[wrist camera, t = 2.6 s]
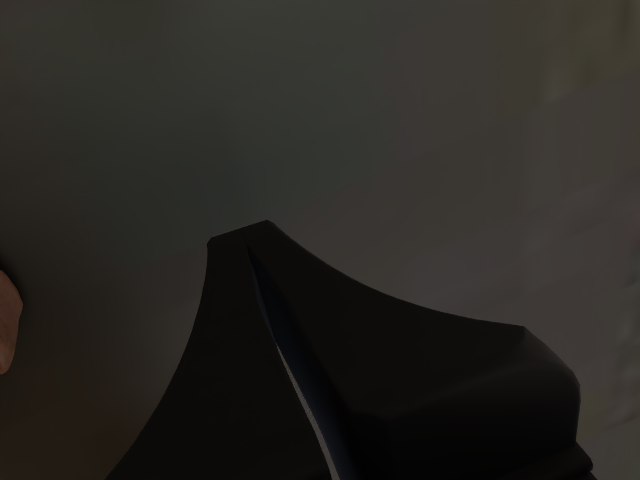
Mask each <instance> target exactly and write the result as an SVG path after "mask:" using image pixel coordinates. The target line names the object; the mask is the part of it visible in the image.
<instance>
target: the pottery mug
mask: <svg viewBox="0 0 640 480" xmlns="http://www.w3.org/2000/svg"><path fill="white" fill-rule="evenodd" d="M22 308H23V302H22V300H21V298H20V295H19V292H18V290H17V288H16V287H15V286H14V285H13V283H12V282H11V281H10V279H9V278H8V276H7V275H6V274H5V273H4V272H3V271H1V270H0V374H3V373H5V372H6V371H7V370H8V369H9V367H10V364H11V362H12V359H13V356H14V352H15V346H16V339H17V334H18V322H19V318H20V314H21V312H22Z"/></svg>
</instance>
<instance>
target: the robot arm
mask: <svg viewBox="0 0 640 480" xmlns="http://www.w3.org/2000/svg"><path fill="white" fill-rule="evenodd" d="M207 248H208V257H207V268H206V276H205V281H204V286H203V291H202V296H201V301H200V305H199V308H198V312H197V315H196V318H195V322H194V325H193V329H192V332H191V335H190V337H189V340H188V343H187V346H186V348H185V351H184V353H183V355H182V358H181V360H180V363H179V365H178V367H177V369H176V371H175V373H174V375H173V377H172V379H171V381H170V383H169V385H168V387H167V389H166V391H165V393H164V395H163V397H162V399H161V400H160V402H159V404H158V406H157V407H156V409H155V411H154V412H153V414H152V415H151V417H150V418H149V420H148V421H147V423H146V425H145V426H144V428H143V429H142V431H141V432H140V434H139V436H138V437H137V439H136V440H135V442H134V443H133V445H132V446H131V447H130V449H129V450H128V451H127V452H126V454H125V455H124V456H123V457H122V459H121V460H120V461H119V462H118V464H117V465H116V466H115V467H114V469H113V470H112V471H111V473H110V474H109V475H108V476H107V478H106V479H105V480H332V478H331V474H330V470H329V467H328V465H327V462H326V459H325V457H324V454H323V452H322V449H321V447H320V444H319V441H318V439H317V436H316V434H315V431H314V429H313V427H312V425H311V423H310V421H309V419H308V417H307V415H306V413H305V410H304V408H303V406H302V404H301V402H300V400H299V397H298V395H297V393H296V391H295V389H294V387H293V384H292V382H291V380H290V377H289V375H288V373H287V371H286V368H285V366H284V364H283V361H282V359H281V357H280V354H279V352H278V349H277V345H278V347H279V349H280V351H281V353H282V355H283V357H284V359H285V361H286V363H287V365H288V367H289V369H290V370H291V372H292V374H293V376H294V378H295V380H296V382H297V384H298V386H299V388H300V390H301V392H302V394H303V396H304V398H305V400H306V402H307V404H308V406H309V408H310V410H311V412H312V414H313V416H314V418H315V419H316V422H317V424H318V426H319V428H320V430H321V433H322V435H323V437H324V440H325V442H326V445H327V447H328V450H329V452H330V455H331V458H332V460H333V463H334V465H335V468H336V471H337V473H338V476H339V478H340V480H597V479H596V478H595V477H594V476H593V474H592V473H591V472H590V471H591V470H592V468H593V463H592V461H591V459H590V457H589V456H588V455H587V454H586V453H585V452H584V450H583V449H582V448H581V447H580V446H579V444H578V443H577V442H576V434H577V426H578V418H579V410H580V402H581V394H580V384H579V382H578V380H577V378H576V376H575V374H574V372H573V371H572V370H571V369H570V368H569V367H568V366H567V365H566V364H565V363H564V362H563V361H562V360H561V359H560V358H559V357H558V356H557V355H556V354H555V353H554V352H553V351H552V350H551V349H550V348H549V347H548V346H547V345H546V344H544V343H543V342H542V341H541V340H539V339H538V338H537V337H536V336H534V335H533V334H532V333H531V332H530V331H529V330H528V329H526V328H525V327H524V326H518V325H511V324H504V323H497V322H490V321H483V320H477V319H471V318H466V317H462V316H457V315H453V314H448V313H444V312H440V311H436V310H432V309H429V308H425V307H422V306H419V305H416V304H413V303H409V302H406V301H403V300H400V299H397V298H395V297H392V296H389V295H387V294H384V293H382V292H379V291H377V290H375V289H373V288H370V287H368V286H366V285H364V284H362V283H360V282H358V281H356V280H354V279H352V278H350V277H349V276H347V275H345V274H343V273H342V272H340V271H338V270H336V269H335V268H333V267H331V266H330V265H328V264H327V263H325V262H323V261H322V260H320V259H319V258H317V257H316V256H315V255H313V254H312V253H310V252H309V251H307V250H306V249H304V248H303V247H302V246H300V245H299V244H298V243H296V242H295V241H294V240H292V239H291V238H290V237H289V236H287V235H286V234H285V233H284V232H283V231H281V230H280V229H279V228H278V227H277V226H276V225H275V224H274V223H272V222H271V221H269V220H265V221H262V222H258V223H255V224H252V225H249V226H246V227H243V228H240V229H237V230H234V231H231V232H228V233H224V234H221V235H218V236H215V237H212V238H210V240H209V242H208V243H207ZM276 343H277V345H276Z"/></svg>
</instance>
